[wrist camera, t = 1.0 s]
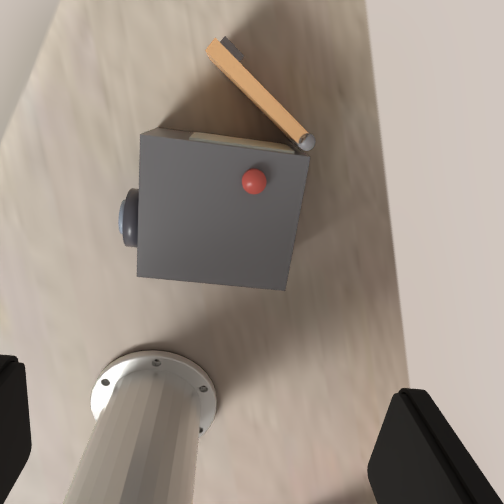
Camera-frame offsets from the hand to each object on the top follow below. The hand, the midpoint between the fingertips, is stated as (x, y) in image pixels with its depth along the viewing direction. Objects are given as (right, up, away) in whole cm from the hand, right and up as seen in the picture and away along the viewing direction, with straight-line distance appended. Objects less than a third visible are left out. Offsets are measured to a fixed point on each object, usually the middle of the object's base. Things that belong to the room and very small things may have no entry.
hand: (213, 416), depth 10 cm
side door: (+2, +16, +19) cm, 25 cm away
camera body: (-2, +9, +22) cm, 24 cm away
